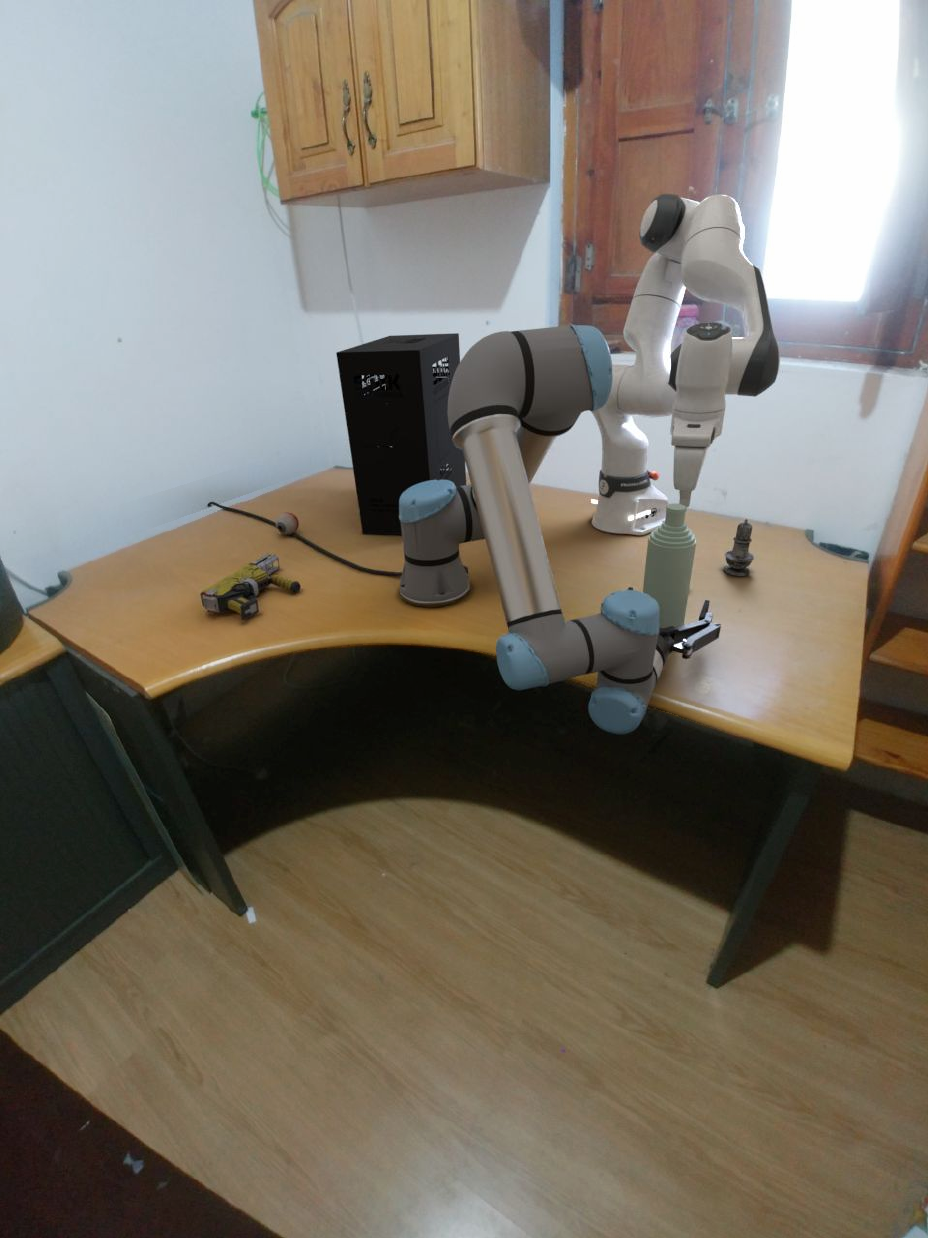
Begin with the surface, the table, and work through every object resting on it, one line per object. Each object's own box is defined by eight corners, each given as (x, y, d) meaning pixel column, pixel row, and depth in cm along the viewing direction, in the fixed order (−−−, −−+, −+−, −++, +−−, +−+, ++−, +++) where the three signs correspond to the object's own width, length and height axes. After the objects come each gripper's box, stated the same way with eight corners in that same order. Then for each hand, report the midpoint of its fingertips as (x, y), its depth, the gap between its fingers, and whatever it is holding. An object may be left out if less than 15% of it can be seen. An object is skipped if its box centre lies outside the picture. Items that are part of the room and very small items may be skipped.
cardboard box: (434, 536, 158) (419, 349, 136) (362, 533, 163) (336, 352, 140) (466, 490, 190) (458, 333, 167) (405, 489, 194) (389, 335, 172)
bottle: (681, 628, 113) (701, 500, 101) (681, 650, 107) (701, 516, 94) (639, 623, 115) (653, 497, 103) (636, 644, 109) (650, 513, 96)
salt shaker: (753, 577, 129) (764, 524, 123) (724, 576, 130) (734, 523, 124) (748, 565, 134) (758, 514, 128) (720, 564, 135) (729, 513, 129)
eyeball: (273, 537, 164) (268, 516, 161) (287, 528, 169) (282, 508, 166) (291, 539, 161) (286, 518, 158) (305, 530, 166) (301, 510, 163)
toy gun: (320, 562, 140) (265, 550, 144) (256, 606, 120) (194, 592, 124) (321, 580, 142) (267, 568, 146) (259, 627, 122) (198, 612, 126)
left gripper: (562, 661, 102) (599, 605, 118) (719, 698, 91) (736, 631, 107) (564, 623, 98) (602, 570, 114) (728, 657, 87) (744, 593, 103)
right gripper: (685, 409, 118) (677, 477, 125) (670, 438, 102) (662, 515, 110) (720, 410, 115) (710, 480, 123) (710, 440, 100) (699, 518, 107)
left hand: (667, 599), depth 110 cm, fingers open, 13 cm apart
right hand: (687, 496), depth 116 cm, fingers open, 8 cm apart
